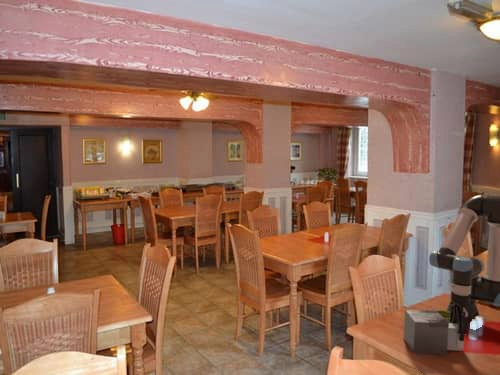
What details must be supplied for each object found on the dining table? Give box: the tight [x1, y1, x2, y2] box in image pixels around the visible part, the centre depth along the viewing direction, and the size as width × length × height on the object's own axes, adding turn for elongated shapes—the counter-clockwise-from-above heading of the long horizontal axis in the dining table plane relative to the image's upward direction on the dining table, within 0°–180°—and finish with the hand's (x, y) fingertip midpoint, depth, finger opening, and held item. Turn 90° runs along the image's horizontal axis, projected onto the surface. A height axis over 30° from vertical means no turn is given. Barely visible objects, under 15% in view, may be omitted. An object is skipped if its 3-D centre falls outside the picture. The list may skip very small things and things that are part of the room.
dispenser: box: [403, 309, 449, 355], centre depth 179 cm, size 14×13×14 cm
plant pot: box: [436, 309, 450, 323], centre depth 194 cm, size 9×9×9 cm
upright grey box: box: [447, 323, 464, 352], centre depth 179 cm, size 10×5×10 cm, turn 87°
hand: (457, 343), depth 179 cm, fingers closed on upright grey box, 5 cm apart
